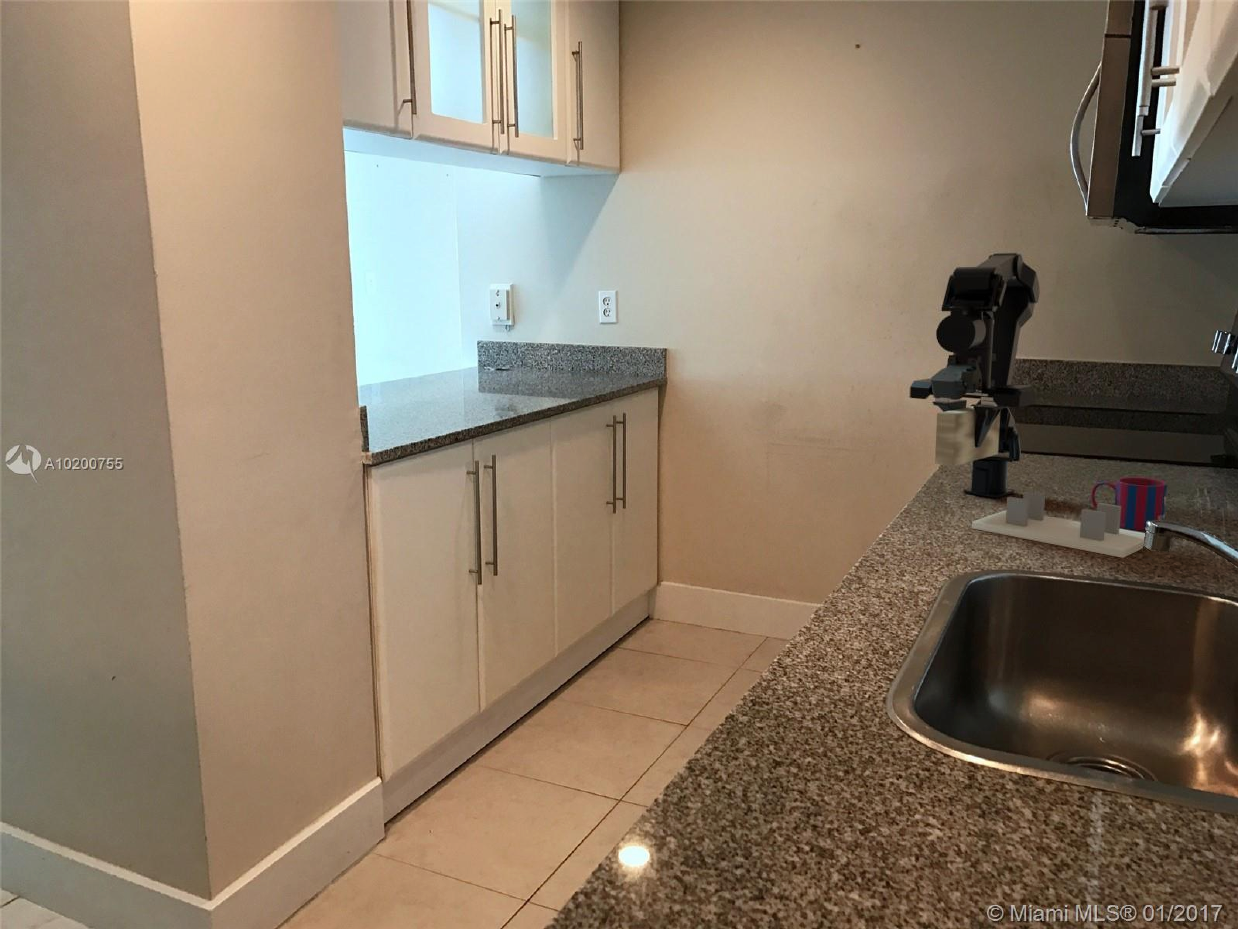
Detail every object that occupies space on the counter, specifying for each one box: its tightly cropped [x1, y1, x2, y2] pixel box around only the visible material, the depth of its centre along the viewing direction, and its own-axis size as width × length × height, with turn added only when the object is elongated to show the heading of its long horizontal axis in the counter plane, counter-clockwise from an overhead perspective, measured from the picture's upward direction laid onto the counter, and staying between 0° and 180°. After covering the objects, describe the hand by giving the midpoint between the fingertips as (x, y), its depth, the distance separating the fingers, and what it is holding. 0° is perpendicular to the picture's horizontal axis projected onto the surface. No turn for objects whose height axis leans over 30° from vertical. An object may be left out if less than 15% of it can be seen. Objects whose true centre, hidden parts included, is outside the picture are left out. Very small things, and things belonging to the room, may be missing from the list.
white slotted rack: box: [971, 490, 1146, 559], centre depth 141 cm, size 11×22×5 cm, turn 41°
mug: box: [1090, 476, 1168, 532], centre depth 146 cm, size 7×10×7 cm
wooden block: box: [934, 405, 1000, 467], centre depth 153 cm, size 14×4×8 cm, turn 131°
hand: (967, 446), depth 153 cm, fingers closed on wooden block, 3 cm apart
